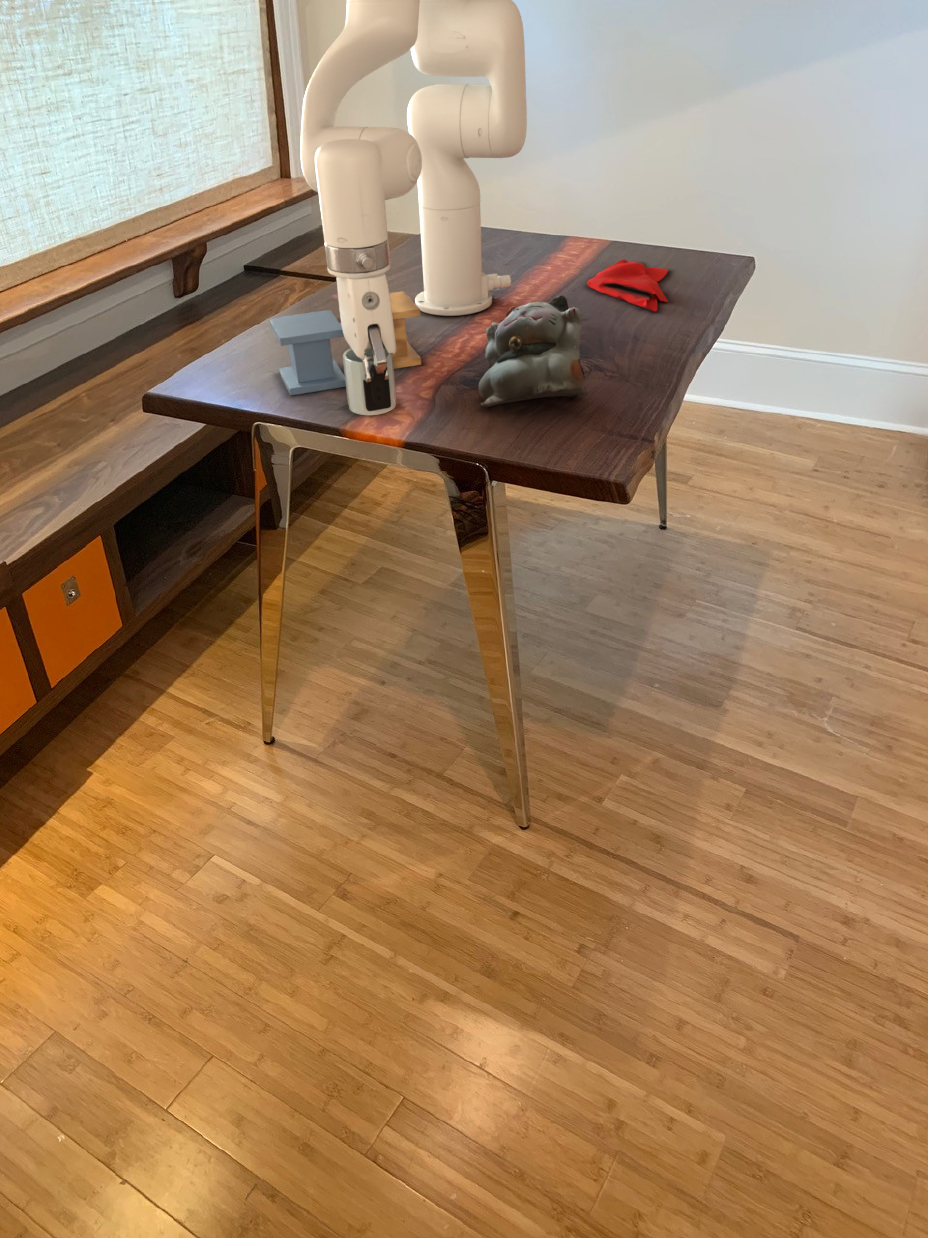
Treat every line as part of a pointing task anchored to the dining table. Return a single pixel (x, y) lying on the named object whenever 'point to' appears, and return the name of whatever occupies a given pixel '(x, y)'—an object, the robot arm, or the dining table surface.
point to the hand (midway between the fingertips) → (371, 397)
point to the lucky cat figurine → (534, 354)
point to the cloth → (631, 283)
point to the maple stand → (403, 329)
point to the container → (355, 382)
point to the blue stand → (309, 351)
